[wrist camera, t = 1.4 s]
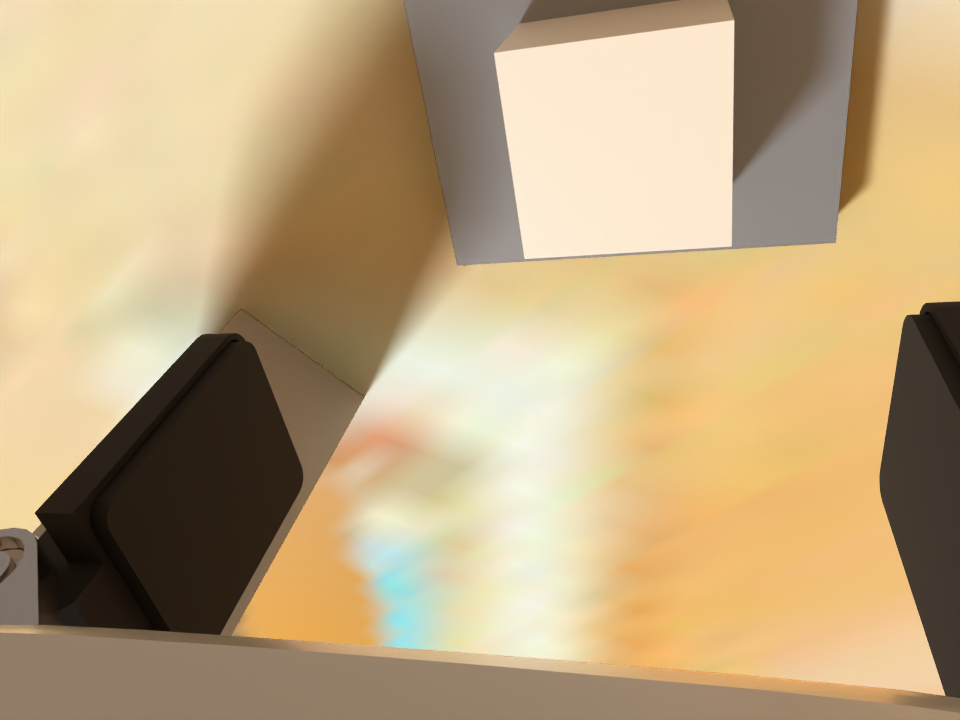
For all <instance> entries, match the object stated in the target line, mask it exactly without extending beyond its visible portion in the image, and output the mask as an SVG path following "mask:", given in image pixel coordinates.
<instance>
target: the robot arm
mask: <svg viewBox="0 0 960 720" xmlns="http://www.w3.org/2000/svg"><path fill="white" fill-rule="evenodd" d="M302 484H303V469H302V465H301V463H300V460H299V458H298V455H297V453H296V450H295V448H294V445H293V442H292V440H291V437H290V435H289V432H288V430H287V427H286V425H285V422H284V420H283V417H282V414H281V412H280V409H279V407H278V404H277V402H276V399H275V397H274V394H273V391H272V389H271V386H270V384H269V381H268V379H267V376H266V374H265V371H264V369H263V366H262V363H261V361H260V358H259V356H258V353H257V351H256V349H255V347H254V345H253V344H252V343H251V342H248V341H245V339H244V338H243V337H242V336H241V335H240V334H237V333H221V334H204V335H201V336H200V337H198V338H197V339H196V340H195V341H194V342H193V343H192V344H191V345H190V347H189V348H188V349H187V350H186V351H185V352H184V353H183V354H182V355H181V356H180V357H179V358H178V359H177V361H176V362H175V363H174V364H173V365H172V366H171V367H170V368H169V369H168V370H167V371H166V372H165V373H164V374H163V376H162V377H161V378H160V379H159V380H158V381H157V382H156V383H155V384H154V385H153V386H152V387H151V388H150V390H149V391H148V392H147V393H146V394H145V395H144V396H143V397H142V398H141V399H140V400H139V401H138V402H137V403H136V405H135V406H134V407H133V408H132V409H131V410H130V411H129V412H128V413H127V414H126V415H125V416H124V417H123V419H122V420H121V421H120V422H119V423H118V424H117V425H116V426H115V427H114V428H113V429H112V430H111V431H110V433H109V434H108V435H107V436H106V437H105V438H104V439H103V440H102V441H101V442H100V443H99V444H98V445H97V446H96V448H95V449H94V450H93V451H92V452H91V453H90V454H89V455H88V456H87V457H86V458H85V459H84V460H83V462H82V463H81V464H80V465H79V466H78V467H77V468H76V469H75V470H74V471H73V472H72V473H71V474H70V475H69V477H68V478H67V479H66V480H65V481H64V482H63V483H62V484H61V485H60V486H59V487H58V488H57V489H56V491H55V492H54V493H53V494H52V495H51V496H50V497H49V498H48V499H47V500H46V501H45V502H44V503H43V505H42V506H41V507H40V508H39V509H38V510H37V511H36V512H35V514H36V515H37V517H38V518H39V520H40V521H41V523H42V524H43V526H44V527H45V529H46V531H45V532H44V533H43V534H42V535H41V536H40V537H39V539H38V540H37V538H36V537H35V535H34V534H32V533H31V532H29V531H28V530H26V529H20V528H9V529H2V530H0V720H960V302H937V303H925V304H924V305H923V307H922V309H921V311H920V315H907V316H906V318H905V320H904V323H903V328H902V334H901V340H900V347H899V353H898V360H897V366H896V372H895V379H894V385H893V392H892V398H891V404H890V411H889V417H888V424H887V430H886V436H885V443H884V449H883V456H882V462H881V468H880V492H881V498H882V501H883V505H884V508H885V511H886V514H887V517H888V520H889V523H890V526H891V529H892V532H893V535H894V538H895V541H896V545H897V548H898V551H899V554H900V557H901V560H902V563H903V566H904V569H905V572H906V575H907V578H908V581H909V584H910V588H911V591H912V594H913V597H914V600H915V603H916V606H917V609H918V612H919V615H920V618H921V621H922V624H923V627H924V631H925V634H926V637H927V640H928V643H929V646H930V649H931V652H932V655H933V658H934V661H935V664H936V667H937V670H938V674H939V677H940V680H941V683H942V686H943V689H944V692H945V695H946V696H941V695H933V694H926V693H918V692H911V691H904V690H896V689H885V688H875V687H864V686H854V685H843V684H833V683H822V682H812V681H801V680H791V679H780V678H770V677H759V676H749V675H738V674H726V673H713V672H701V671H688V670H676V669H663V668H651V667H638V666H626V665H613V664H601V663H588V662H576V661H563V660H551V659H538V658H526V657H513V656H500V655H486V654H473V653H460V652H447V651H433V650H420V649H407V648H393V647H380V646H366V645H352V644H339V643H325V642H311V641H298V640H283V639H268V638H254V637H240V636H225V635H220V634H221V632H222V631H223V629H224V627H225V625H226V623H227V622H228V620H229V618H230V616H231V614H232V613H233V611H234V609H235V607H236V605H237V604H238V602H239V600H240V598H241V596H242V595H243V593H244V591H245V589H246V587H247V586H248V584H249V582H250V580H251V578H252V577H253V575H254V573H255V571H256V569H257V568H258V566H259V564H260V562H261V560H262V559H263V557H264V555H265V553H266V552H267V550H268V548H269V546H270V544H271V543H272V541H273V539H274V537H275V535H276V534H277V532H278V530H279V528H280V526H281V525H282V523H283V521H284V519H285V517H286V516H287V514H288V512H289V510H290V508H291V507H292V505H293V503H294V501H295V499H296V498H297V496H298V494H299V492H300V490H301V488H302Z"/></svg>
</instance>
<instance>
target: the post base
mask: <svg viewBox="0 0 960 720" xmlns="http://www.w3.org/2000/svg"><path fill="white" fill-rule="evenodd" d="M671 1H678V0H404V5H405V10H406V15H407V19H408V24H409V29H410V34H411V39H412V44H413V49H414V54H415V59H416V64H417V69H418V74H419V79H420V84H421V89H422V94H423V99H424V104H425V108H426V113H427V118H428V123H429V128H430V133H431V138H432V143H433V148H434V153H435V158H436V163H437V168H438V173H439V178H440V183H441V188H442V193H443V198H444V202H445V207H446V212H447V217H448V222H449V227H450V232H451V237H452V242H453V247H454V252H455V257H456V262H457V265H473V264H490V263H506V262H523V261H540V260H556V259H573V258H590V257H606V256H623V255H640V254H656V253H673V252H690V251H706V250H723V249H740V248H756V247H773V246H790V245H806V244H823V243H836V233H837V222H838V211H839V200H840V189H841V178H842V168H843V157H844V146H845V135H846V124H847V113H848V102H849V91H850V80H851V69H852V58H853V47H854V36H855V26H856V15H857V4H858V0H728V3H729V6H730V9H731V12H732V15H733V18H734V94H733V178H732V247H716V248H700V249H683V250H667V251H650V252H634V253H617V254H601V255H584V256H568V257H552V258H535V259H524V252H523V245H522V238H521V232H520V225H519V218H518V211H517V205H516V198H515V191H514V185H513V178H512V171H511V164H510V158H509V151H508V144H507V138H506V131H505V124H504V117H503V111H502V104H501V97H500V91H499V84H498V77H497V70H496V64H495V57H494V52H495V51H496V50H497V49H498V48H499V46H500V45H501V44H502V43H503V42H504V41H505V39H506V38H507V37H508V36H509V35H510V34H511V32H512V31H513V30H514V29H515V28H516V27H517V25H518V24H520V23H527V22H534V21H540V20H547V19H554V18H561V17H568V16H575V15H582V14H588V13H595V12H602V11H609V10H616V9H623V8H630V7H637V6H643V5H650V4H657V3H664V2H671Z"/></svg>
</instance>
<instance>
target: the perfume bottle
mask: <svg viewBox="0 0 960 720" xmlns="http://www.w3.org/2000/svg"><path fill="white" fill-rule="evenodd" d="M221 333H237V334H240V335H241V336H242V337H243V338H244V339H245V341H248V342H251V343H252V344H253V345H254V347H255V349H256V351H257V353H258V356H259V358H260V361H261V363H262V366H263V369H264V371H265V374H266V376H267V379H268V381H269V384H270V386H271V389H272V391H273V394H274V397H275V399H276V402H277V404H278V407H279V409H280V412H281V414H282V417H283V420H284V422H285V425H286V427H287V430H288V432H289V435H290V437H291V440H292V442H293V445H294V448H295V450H296V453H297V455H298V458H299V460H300V463H301V465H302V469H303V484H302V488H301V490H300V492H299V494H298V496H297V498H296V499H295V501H294V503H293V505H292V507H291V508H290V510H289V512H288V514H287V516H286V517H285V519H284V521H283V523H282V525H281V526H280V528H279V530H278V532H277V534H276V535H275V537H274V539H273V541H272V543H271V544H270V546H269V548H268V550H267V552H266V553H265V555H264V557H263V559H262V560H261V562H260V564H259V566H258V568H257V569H256V571H255V573H254V575H253V577H252V578H251V580H250V582H249V584H248V586H247V587H246V589H245V591H244V593H243V595H242V596H241V598H240V600H239V602H238V604H237V605H236V607H235V609H234V611H233V613H232V614H231V616H230V618H229V620H228V622H227V623H226V625H225V627H224V629H223V631H222V632H221V634H220V635H225V636H231V635H232V633H233V631H234V629H235V628H236V626H237V624H238V622H239V621H240V619H241V617H242V615H243V613H244V612H245V610H246V608H247V606H248V604H249V603H250V601H251V599H252V597H253V596H254V594H255V592H256V590H257V588H258V587H259V585H260V583H261V581H262V579H263V577H264V576H265V574H266V572H267V571H268V569H269V567H270V565H271V563H272V561H273V560H274V558H275V556H276V554H277V553H278V551H279V549H280V547H281V545H282V544H283V542H284V540H285V538H286V537H287V535H288V533H289V531H290V529H291V528H292V526H293V524H294V522H295V520H296V519H297V517H298V515H299V513H300V512H301V510H302V508H303V506H304V504H305V503H306V501H307V499H308V497H309V495H310V494H311V492H312V490H313V488H314V486H315V485H316V483H317V481H318V479H319V478H320V476H321V474H322V472H323V470H324V469H325V467H326V465H327V463H328V461H329V460H330V458H331V456H332V454H333V453H334V451H335V449H336V447H337V445H338V444H339V442H340V440H341V438H342V436H343V435H344V433H345V431H346V429H347V427H348V426H349V424H350V422H351V420H352V419H353V417H354V415H355V413H356V411H357V410H358V408H359V406H360V404H361V402H362V401H363V399H364V397H363V396H362V395H360V394H359V393H358V392H356V391H355V390H353V389H352V388H351V387H349V386H348V385H346V384H345V383H344V382H342V381H341V380H339V379H338V378H337V377H335V376H334V375H332V374H331V373H330V372H328V371H327V370H326V369H324V368H323V367H321V366H320V365H319V364H317V363H316V362H314V361H313V360H312V359H310V358H309V357H307V356H306V355H305V354H303V353H302V352H300V351H299V350H298V349H296V348H295V347H293V346H292V345H291V344H289V343H288V342H286V341H285V340H284V339H282V338H281V337H280V336H278V335H277V334H275V333H274V332H273V331H271V330H270V329H268V328H267V327H266V326H264V325H263V324H261V323H260V322H259V321H257V320H256V319H254V318H253V317H252V316H250V315H249V314H247V313H246V312H245V311H243V310H242V309H241V310H240V311H239V312H238V313H237V314H236V315H235V316H234V317H233V318H232V319H231V320H230V322H229V323H228V324H227V325H226V326H225V327H224V328H223V329H222V330H221V331H220V332H219V333H218V334H221ZM45 531H46V529H45V527H44V526H43V524H42V523H41V525H40V526H39V527H38V528H37V529H36V530H35V531H34V532H33V533H32V534H34V535H35V537H36V538H37V540H38V539H39V537H40V536H41V535H42V534H43V533H44V532H45Z"/></svg>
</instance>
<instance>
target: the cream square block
mask: <svg viewBox="0 0 960 720" xmlns="http://www.w3.org/2000/svg"><path fill="white" fill-rule="evenodd" d="M494 57H495V64H496V70H497V77H498V84H499V91H500V97H501V104H502V111H503V117H504V124H505V131H506V138H507V144H508V151H509V158H510V164H511V171H512V178H513V185H514V191H515V198H516V205H517V211H518V218H519V225H520V232H521V238H522V245H523V252H524V259H535V258H552V257H568V256H584V255H601V254H617V253H634V252H650V251H667V250H683V249H700V248H716V247H732V178H733V94H734V18H733V15H732V12H731V9H730V6H729V3H728V0H678V1H671V2H664V3H657V4H650V5H643V6H637V7H630V8H623V9H616V10H609V11H602V12H595V13H588V14H582V15H575V16H568V17H561V18H554V19H547V20H540V21H534V22H527V23H520V24H518V25H517V27H516V28H515V29H514V30H513V31H512V32H511V34H510V35H509V36H508V37H507V38H506V39H505V41H504V42H503V43H502V44H501V45H500V46H499V48H498V49H497V50H496V51H495V52H494Z"/></svg>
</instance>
